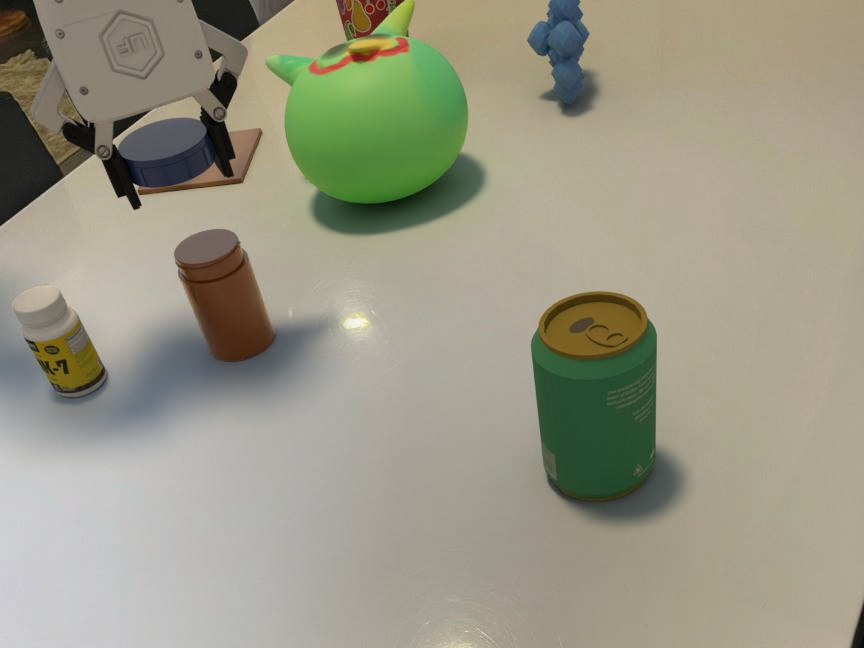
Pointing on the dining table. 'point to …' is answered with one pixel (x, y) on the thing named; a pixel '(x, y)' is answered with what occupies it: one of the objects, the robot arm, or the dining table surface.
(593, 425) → the beverage can
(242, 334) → the jar
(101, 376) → the supplement bottle
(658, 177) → the dining table surface
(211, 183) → the coaster
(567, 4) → the grapes
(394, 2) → the smoothie
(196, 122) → the lid
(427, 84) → the toy bird
